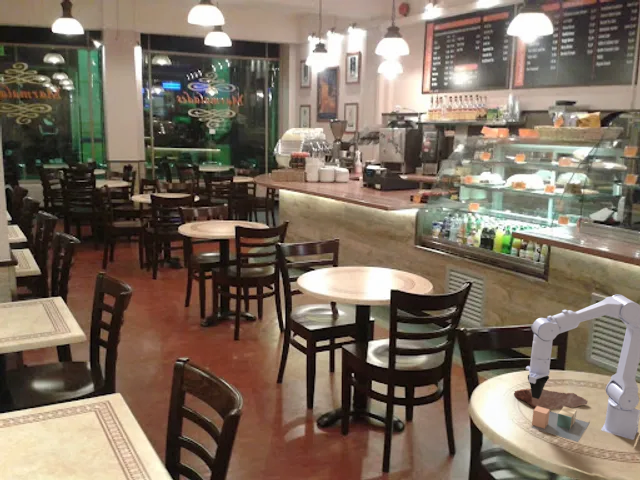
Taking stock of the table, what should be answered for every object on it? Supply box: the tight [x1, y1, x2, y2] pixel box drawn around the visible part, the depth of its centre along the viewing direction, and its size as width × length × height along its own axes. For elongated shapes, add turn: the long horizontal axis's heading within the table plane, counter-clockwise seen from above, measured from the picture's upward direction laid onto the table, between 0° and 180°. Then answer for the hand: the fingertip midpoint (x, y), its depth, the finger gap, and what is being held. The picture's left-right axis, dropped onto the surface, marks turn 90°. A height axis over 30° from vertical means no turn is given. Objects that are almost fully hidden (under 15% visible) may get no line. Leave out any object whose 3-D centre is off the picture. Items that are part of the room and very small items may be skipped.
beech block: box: [557, 406, 577, 429], centre depth 201 cm, size 4×4×7 cm
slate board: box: [531, 410, 590, 443], centre depth 200 cm, size 14×16×1 cm
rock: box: [513, 388, 588, 410], centre depth 217 cm, size 10×24×10 cm
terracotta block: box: [531, 406, 551, 429], centre depth 199 cm, size 4×4×5 cm
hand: (535, 397), depth 196 cm, fingers closed
